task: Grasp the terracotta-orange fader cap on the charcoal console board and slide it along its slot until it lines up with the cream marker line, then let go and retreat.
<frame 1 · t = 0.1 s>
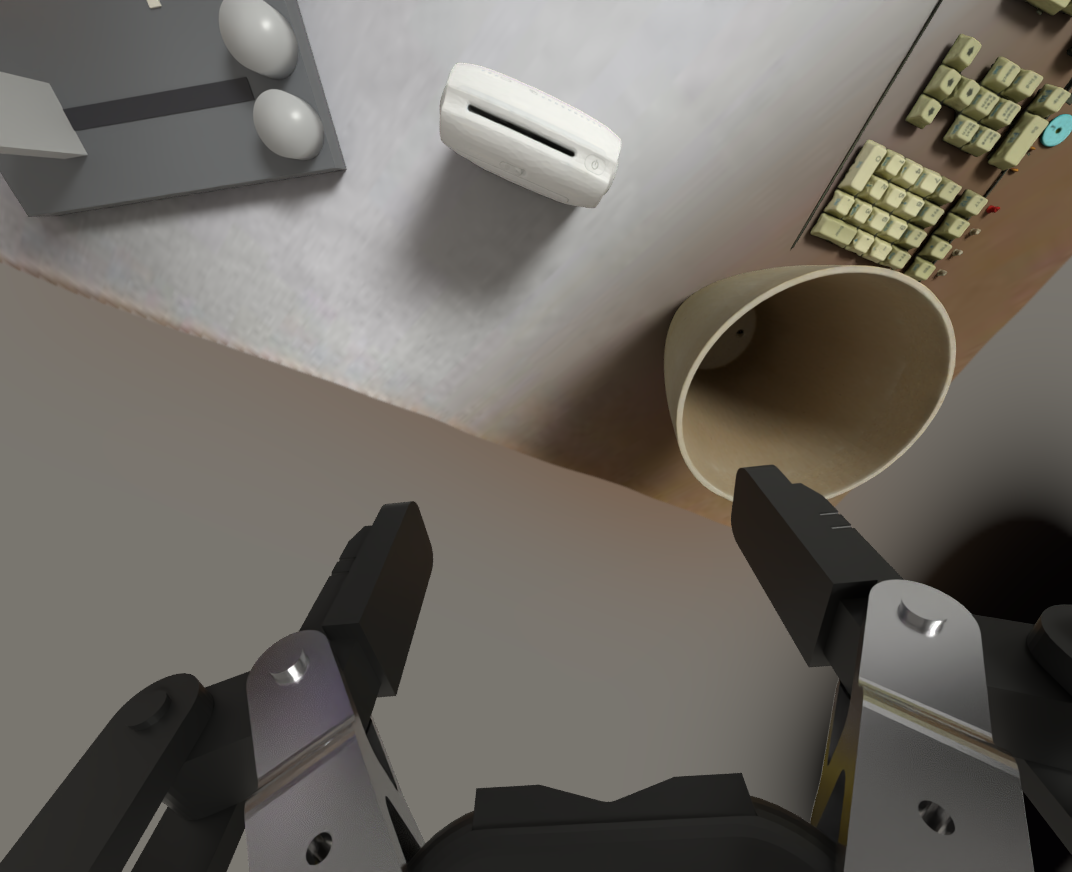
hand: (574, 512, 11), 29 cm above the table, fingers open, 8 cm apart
plant pot: (709, 330, 38), on the table
photo printer: (532, 156, 32), on the table
console: (128, 40, 29), on the table
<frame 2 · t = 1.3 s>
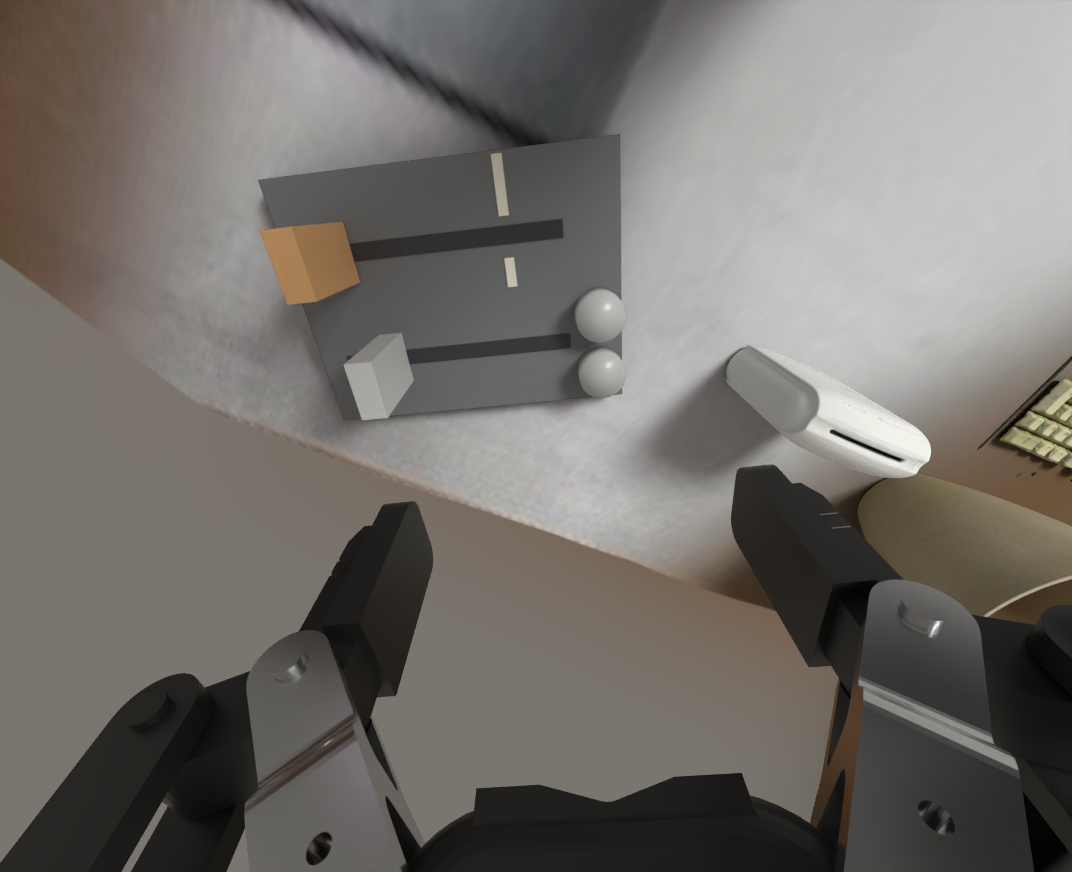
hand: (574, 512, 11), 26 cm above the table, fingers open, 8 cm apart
plant pot: (892, 502, 44), on the table
photo printer: (777, 379, 37), on the table
console: (464, 294, 34), on the table
fader cap: (317, 260, 27), point 6 cm above the table, slide at 0.0 cm
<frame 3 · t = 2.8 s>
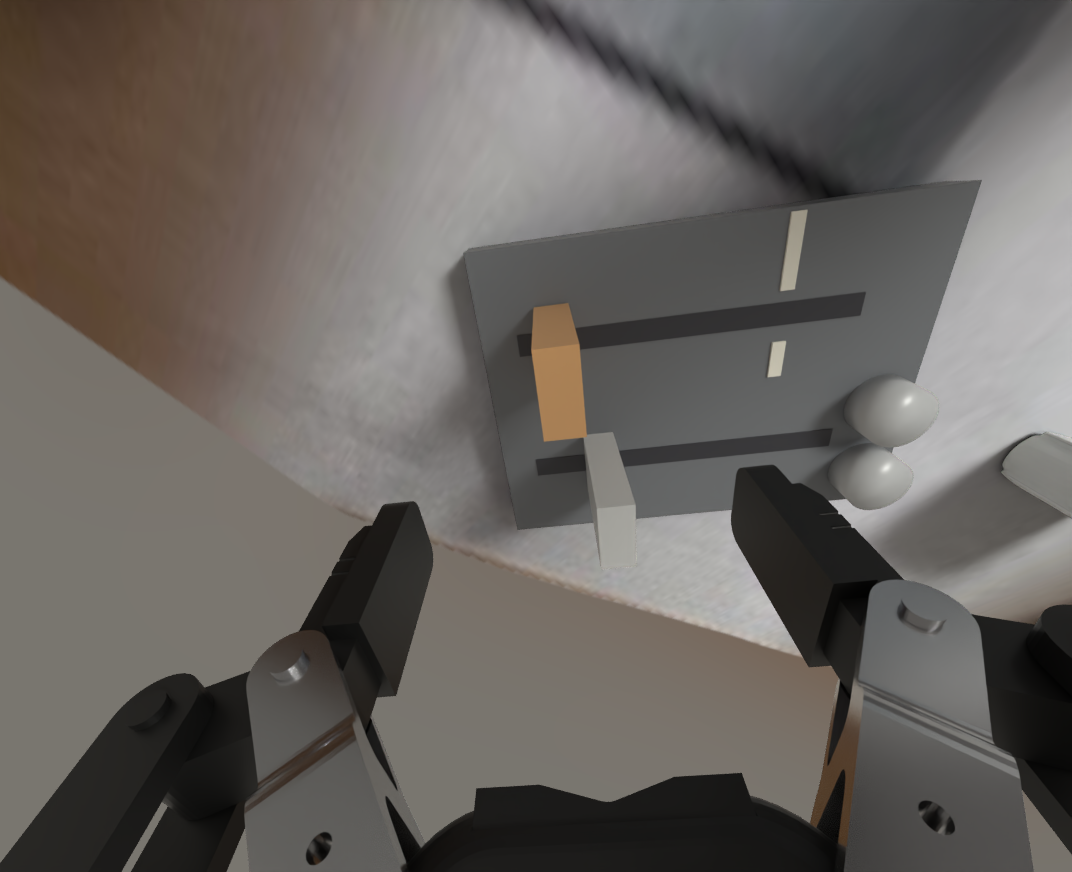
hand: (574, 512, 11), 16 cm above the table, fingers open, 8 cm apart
photo printer: (1062, 467, 30), on the table
console: (689, 379, 26), on the table
fader cap: (557, 365, 20), point 6 cm above the table, slide at 0.0 cm
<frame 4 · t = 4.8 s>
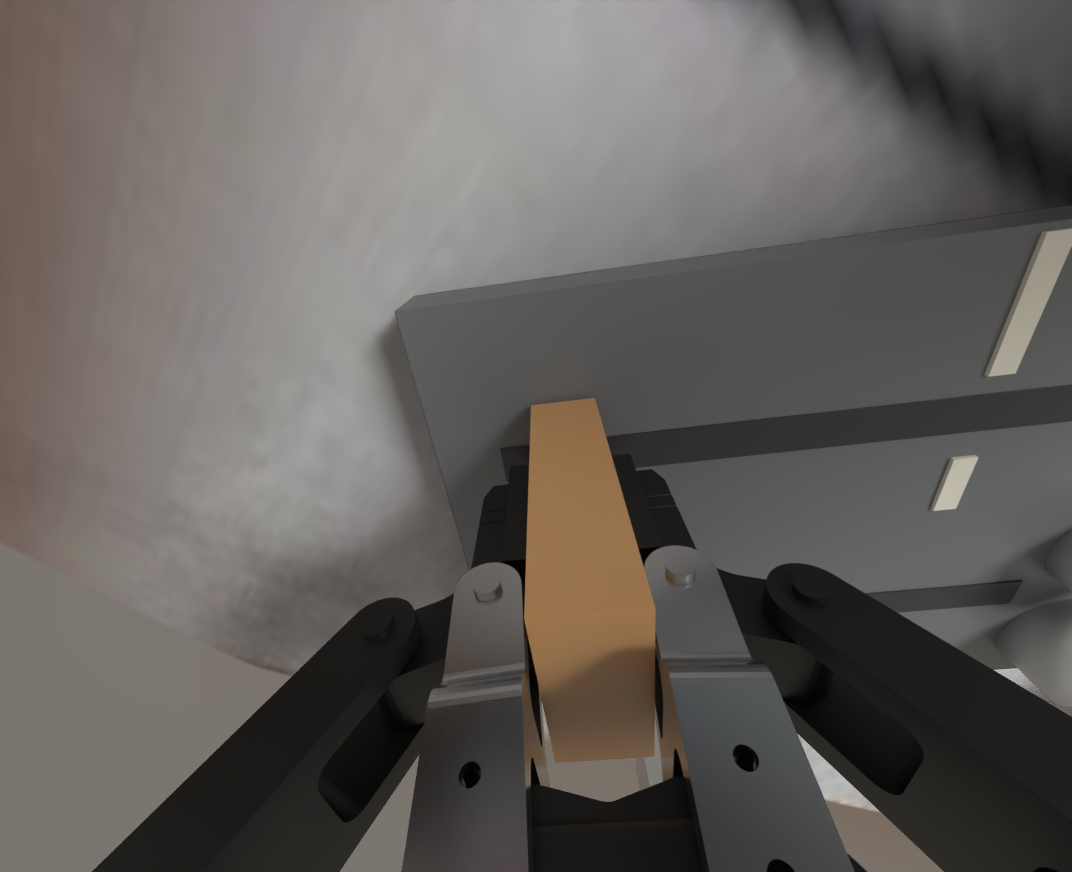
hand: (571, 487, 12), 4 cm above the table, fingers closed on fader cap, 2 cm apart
console: (783, 495, 16), on the table
fader cap: (579, 542, 10), point 6 cm above the table, slide at 0.0 cm, touching gripper
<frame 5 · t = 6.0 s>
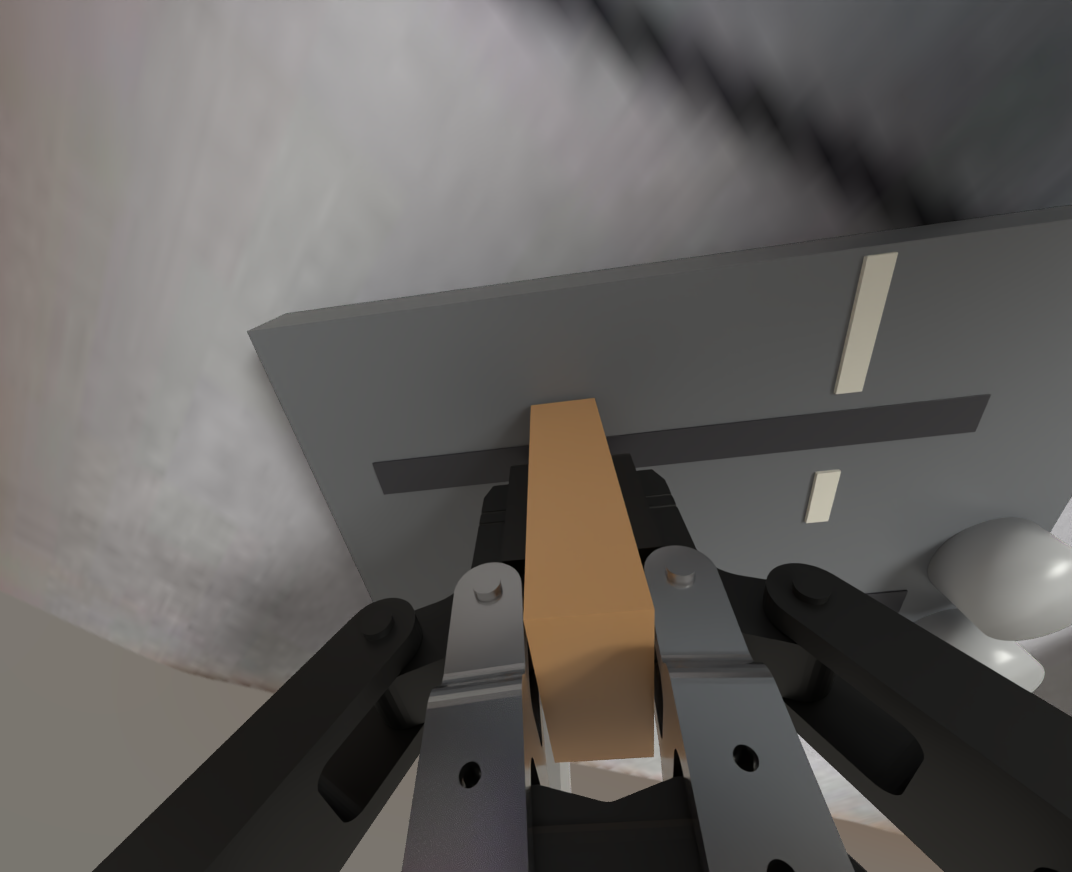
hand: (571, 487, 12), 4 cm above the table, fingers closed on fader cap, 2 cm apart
console: (676, 505, 16), on the table
fader cap: (578, 542, 10), point 6 cm above the table, slide at 4.1 cm, touching gripper
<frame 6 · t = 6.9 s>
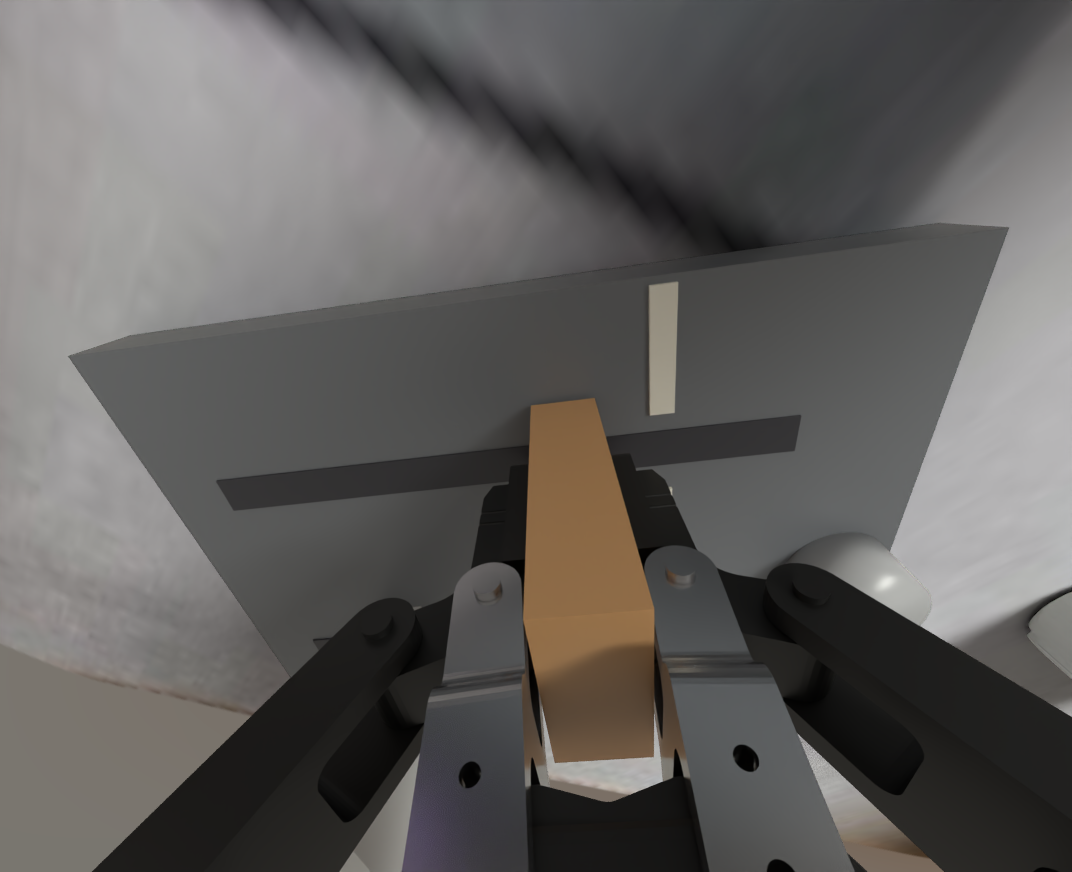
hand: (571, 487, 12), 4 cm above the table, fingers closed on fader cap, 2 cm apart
console: (544, 519, 17), on the table
fader cap: (578, 542, 10), point 6 cm above the table, slide at 9.2 cm, touching gripper
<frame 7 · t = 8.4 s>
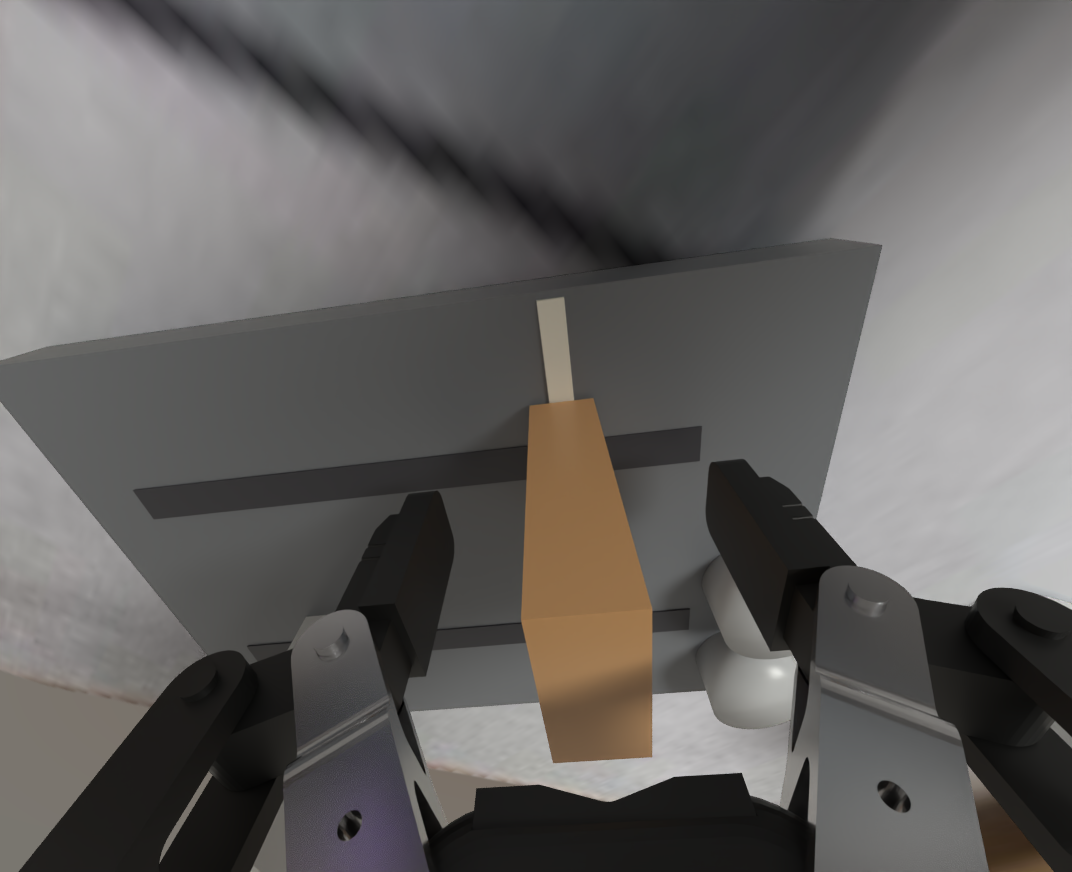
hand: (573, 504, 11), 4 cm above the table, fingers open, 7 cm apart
console: (474, 526, 17), on the table
fader cap: (577, 542, 10), point 6 cm above the table, slide at 12.0 cm
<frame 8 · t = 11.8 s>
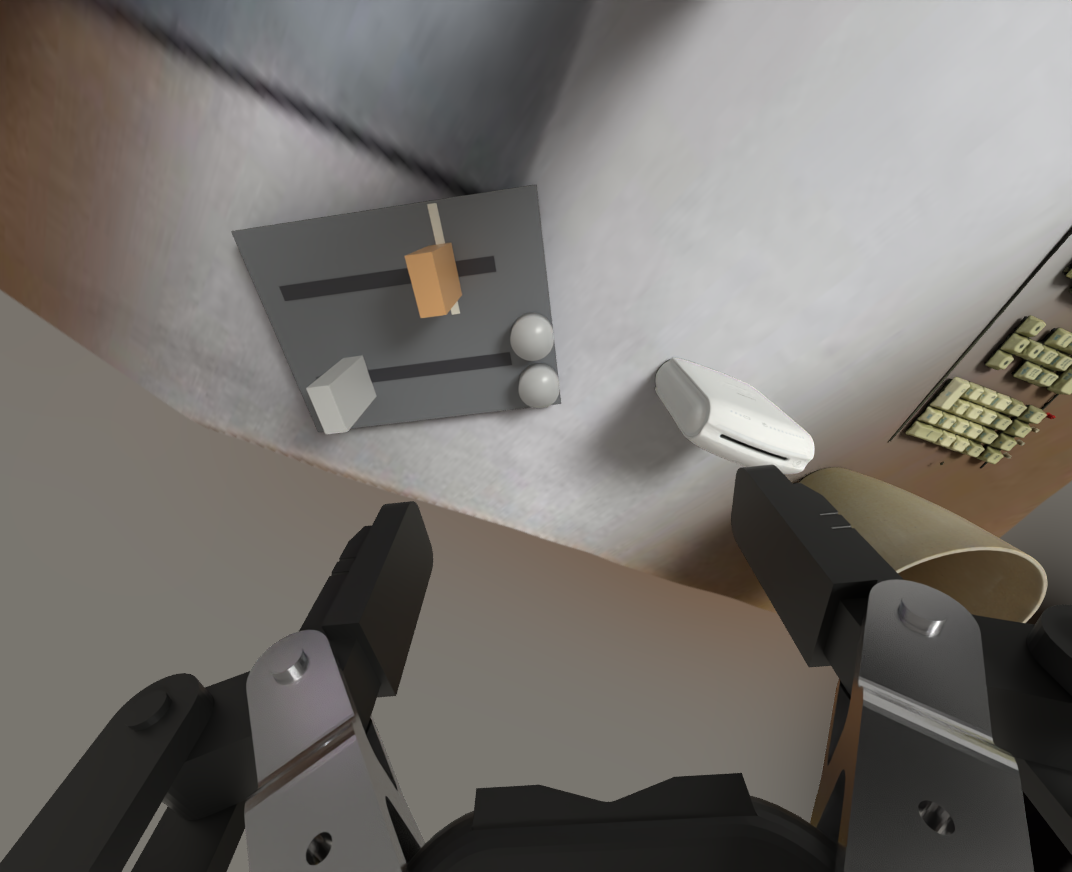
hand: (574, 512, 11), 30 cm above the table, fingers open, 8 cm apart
plant pot: (821, 494, 48), on the table
photo printer: (703, 386, 42), on the table
console: (417, 320, 38), on the table
fader cap: (437, 277, 31), point 6 cm above the table, slide at 12.0 cm
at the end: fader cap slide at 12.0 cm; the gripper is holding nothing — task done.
